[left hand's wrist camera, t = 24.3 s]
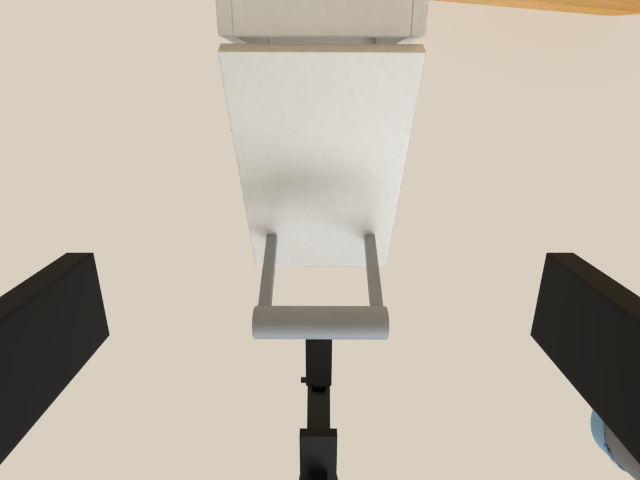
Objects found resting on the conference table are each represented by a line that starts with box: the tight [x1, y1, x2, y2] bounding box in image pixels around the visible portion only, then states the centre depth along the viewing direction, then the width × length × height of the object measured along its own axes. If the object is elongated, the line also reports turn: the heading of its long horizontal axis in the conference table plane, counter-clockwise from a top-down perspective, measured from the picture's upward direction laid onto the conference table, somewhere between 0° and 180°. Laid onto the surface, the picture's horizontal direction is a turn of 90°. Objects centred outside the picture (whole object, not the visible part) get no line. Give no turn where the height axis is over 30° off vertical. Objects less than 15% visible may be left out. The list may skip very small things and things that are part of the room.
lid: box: [218, 44, 426, 340], centre depth 23 cm, size 16×10×8 cm
